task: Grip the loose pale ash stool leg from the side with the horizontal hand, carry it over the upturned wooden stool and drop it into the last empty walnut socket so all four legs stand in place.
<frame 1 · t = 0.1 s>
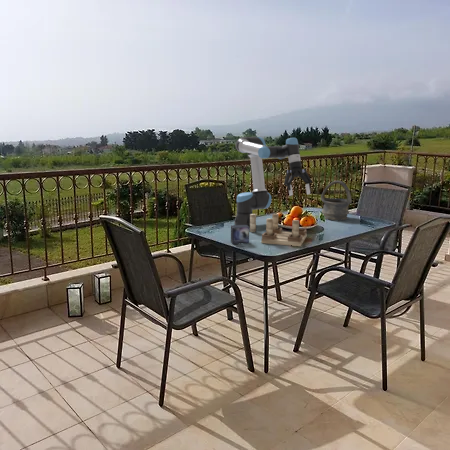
hand: (300, 194, 256), 28 cm above the table, tool tilted 20°, fingers open, 13 cm apart
loose leg: (252, 231, 276), on the table
upturned wooden stool: (284, 239, 254), on the table
small box: (239, 242, 248), on the table
wicker basket: (335, 218, 320), on the table
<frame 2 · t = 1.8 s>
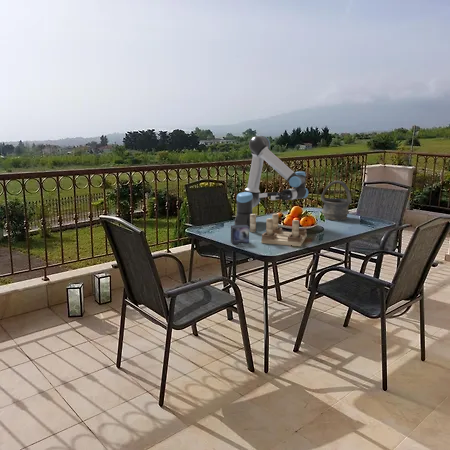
hand: (265, 197, 276), 23 cm above the table, tool horizontal, fingers open, 13 cm apart
nothing on the table moved.
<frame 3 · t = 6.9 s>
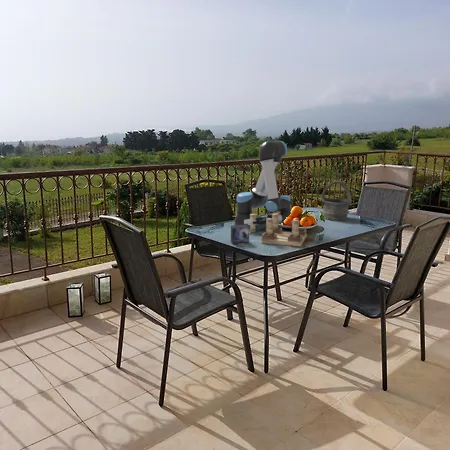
hand: (246, 222, 272), 7 cm above the table, tool horizontal, fingers closed on loose leg, 4 cm apart
loose leg: (252, 231, 276), on the table, touching gripper
everything else where it was.
when the fingers open (11 cm above the table, at t = 16.5 s): loose leg drops 1 cm, resting on upturned wooden stool.
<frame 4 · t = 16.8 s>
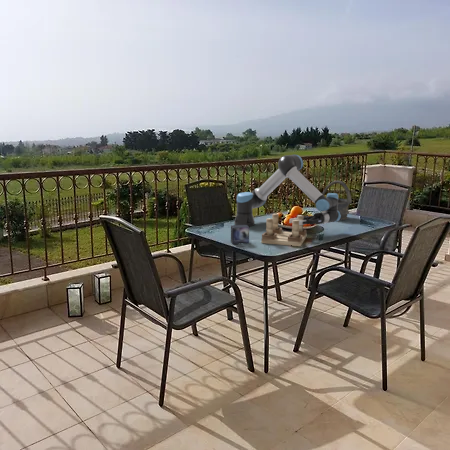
hand: (293, 222, 254), 11 cm above the table, tool horizontal, fingers open, 7 cm apart
loose leg: (299, 233, 258), point 3 cm above the table, touching upturned wooden stool
everything else where it was.
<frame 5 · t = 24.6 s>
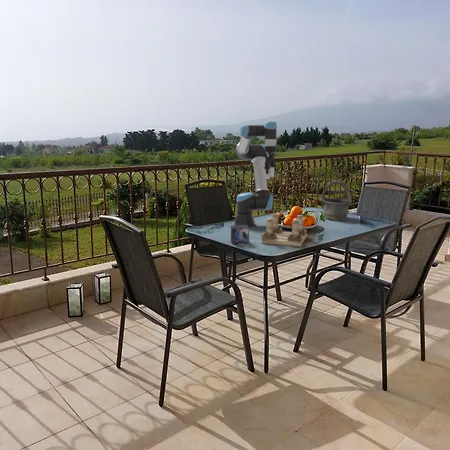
hand: (269, 178, 269), 37 cm above the table, tool pointing down, fingers open, 13 cm apart
nothing on the table moved.
at the end: loose leg 0.0 cm from the target spot on the upturned wooden stool, point 2.5 cm above the upturned wooden stool's base; loose leg tilted 1°; the gripper is holding nothing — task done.
